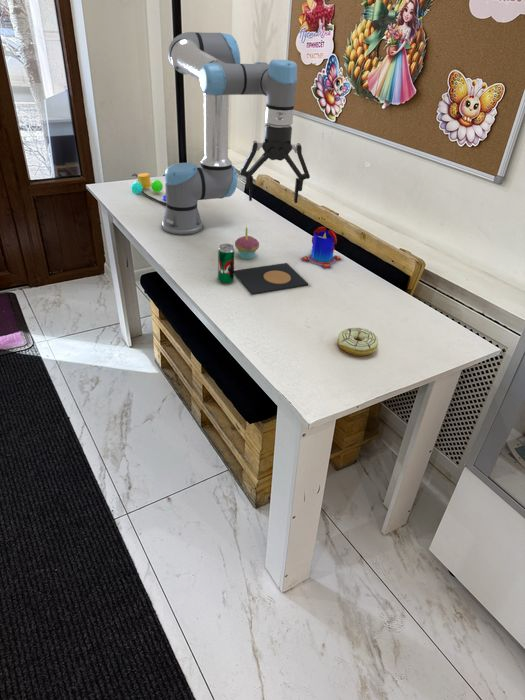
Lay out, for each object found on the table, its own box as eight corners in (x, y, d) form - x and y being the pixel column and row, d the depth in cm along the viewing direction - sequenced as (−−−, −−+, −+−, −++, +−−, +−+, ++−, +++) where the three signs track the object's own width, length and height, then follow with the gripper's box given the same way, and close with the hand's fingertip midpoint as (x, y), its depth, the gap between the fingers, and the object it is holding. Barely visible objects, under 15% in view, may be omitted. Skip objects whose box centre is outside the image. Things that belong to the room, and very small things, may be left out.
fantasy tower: (343, 258, 183) (348, 227, 176) (328, 269, 175) (333, 237, 168) (314, 249, 188) (319, 218, 181) (299, 260, 180) (302, 227, 173)
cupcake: (255, 263, 175) (257, 230, 168) (231, 259, 177) (232, 226, 170) (260, 253, 182) (262, 221, 175) (237, 249, 183) (238, 217, 176)
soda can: (235, 279, 165) (237, 244, 158) (230, 285, 161) (231, 251, 154) (221, 275, 166) (222, 241, 159) (215, 282, 162) (215, 247, 155)
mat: (233, 272, 169) (233, 269, 168) (286, 264, 176) (286, 262, 176) (251, 294, 157) (252, 292, 157) (308, 285, 165) (308, 283, 164)
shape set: (133, 188, 235) (130, 172, 230) (208, 182, 239) (207, 166, 235) (131, 211, 211) (128, 193, 207) (215, 204, 216) (213, 187, 212)
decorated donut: (340, 332, 143) (343, 321, 141) (378, 341, 141) (381, 329, 138) (333, 352, 135) (335, 340, 133) (373, 361, 132) (376, 350, 130)
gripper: (233, 125, 136) (231, 202, 148) (325, 130, 138) (315, 206, 150) (233, 119, 142) (231, 194, 154) (321, 124, 144) (312, 198, 156)
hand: (272, 200), depth 152 cm, fingers open, 13 cm apart
